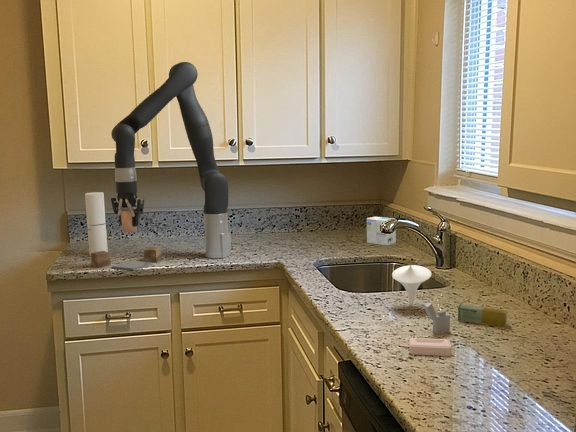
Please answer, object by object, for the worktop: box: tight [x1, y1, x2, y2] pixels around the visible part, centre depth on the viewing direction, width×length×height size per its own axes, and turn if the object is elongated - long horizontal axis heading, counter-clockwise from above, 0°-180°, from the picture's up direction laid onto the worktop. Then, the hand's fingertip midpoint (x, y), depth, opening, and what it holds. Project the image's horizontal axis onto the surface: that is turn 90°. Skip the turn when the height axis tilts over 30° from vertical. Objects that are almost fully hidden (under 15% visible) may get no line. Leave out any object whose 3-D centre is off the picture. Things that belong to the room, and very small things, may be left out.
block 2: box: [143, 246, 163, 264], centre depth 232 cm, size 5×5×5 cm
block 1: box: [90, 251, 112, 269], centre depth 226 cm, size 5×5×5 cm
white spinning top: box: [391, 264, 432, 307], centre depth 169 cm, size 10×11×12 cm
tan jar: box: [120, 207, 138, 233], centre depth 221 cm, size 6×6×9 cm
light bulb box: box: [366, 216, 397, 246], centre depth 255 cm, size 11×7×11 cm, turn 46°
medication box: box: [457, 303, 508, 328], centre depth 155 cm, size 12×3×4 cm, turn 61°
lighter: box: [422, 301, 451, 335], centre depth 148 cm, size 7×2×8 cm, turn 116°
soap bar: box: [408, 337, 452, 357], centre depth 137 cm, size 5×9×2 cm, turn 79°
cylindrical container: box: [84, 191, 109, 257], centre depth 244 cm, size 7×7×25 cm
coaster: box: [111, 259, 152, 271], centre depth 224 cm, size 10×10×1 cm
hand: (129, 225), depth 222 cm, fingers closed on tan jar, 5 cm apart
